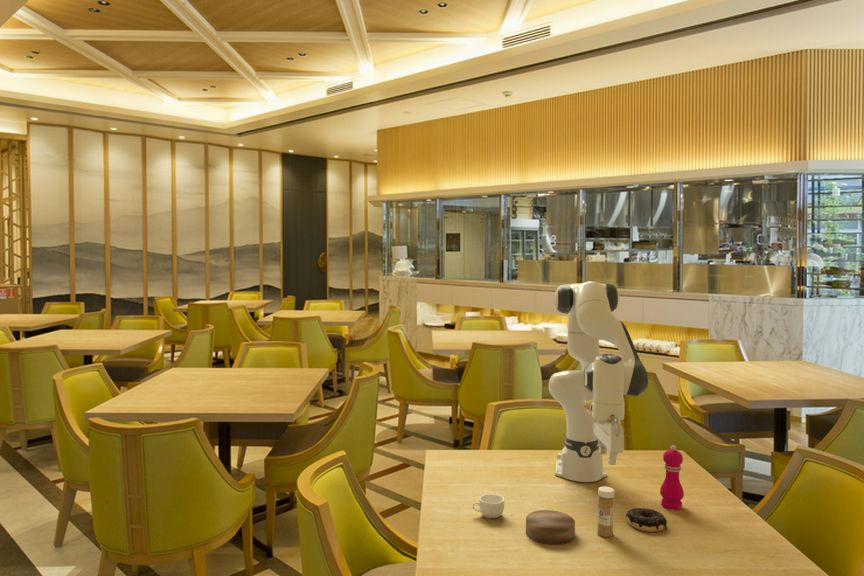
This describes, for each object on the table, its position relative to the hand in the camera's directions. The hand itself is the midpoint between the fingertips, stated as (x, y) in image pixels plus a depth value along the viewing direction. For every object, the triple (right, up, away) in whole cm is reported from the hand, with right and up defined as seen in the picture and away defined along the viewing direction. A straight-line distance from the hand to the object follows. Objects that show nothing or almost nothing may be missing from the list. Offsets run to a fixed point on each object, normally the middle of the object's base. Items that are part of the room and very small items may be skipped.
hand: (607, 458), depth 182 cm
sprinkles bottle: (0, -23, +1) cm, 23 cm away
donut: (+14, -23, +8) cm, 28 cm away
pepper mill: (+27, -22, +22) cm, 41 cm away
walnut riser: (-16, -22, +1) cm, 27 cm away
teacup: (-33, -22, +14) cm, 42 cm away
